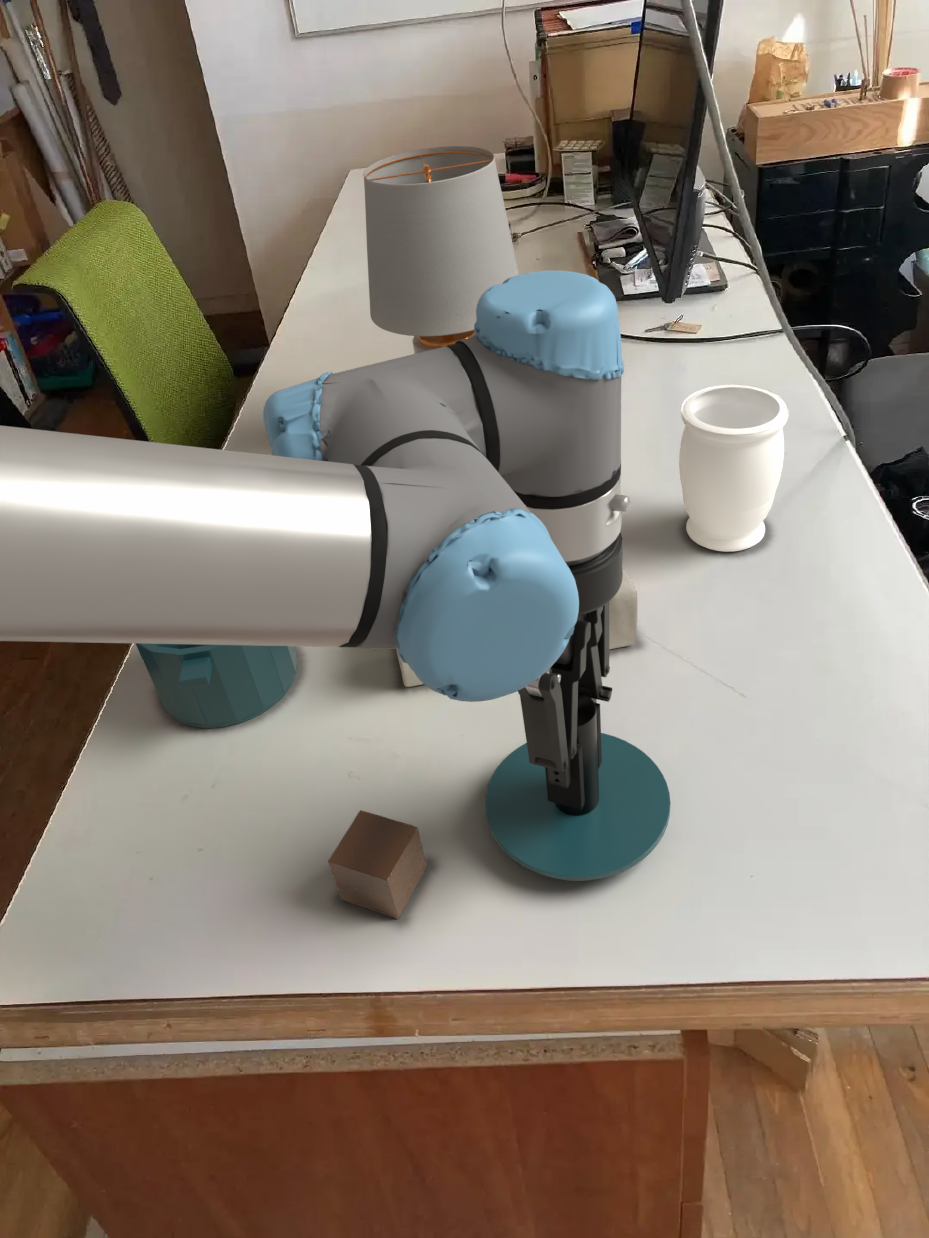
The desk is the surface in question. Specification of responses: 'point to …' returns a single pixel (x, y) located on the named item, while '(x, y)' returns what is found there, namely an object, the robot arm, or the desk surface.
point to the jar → (730, 463)
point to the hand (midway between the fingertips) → (575, 780)
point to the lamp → (434, 241)
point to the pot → (219, 680)
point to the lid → (572, 838)
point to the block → (378, 863)
